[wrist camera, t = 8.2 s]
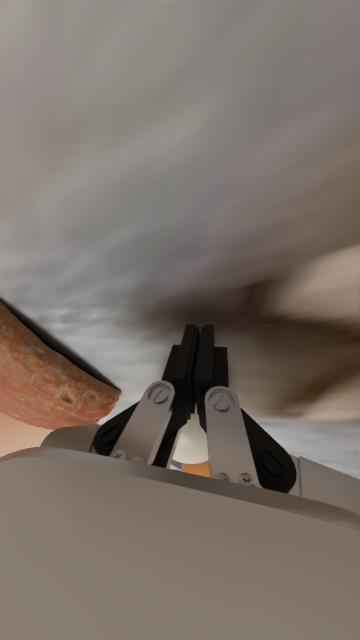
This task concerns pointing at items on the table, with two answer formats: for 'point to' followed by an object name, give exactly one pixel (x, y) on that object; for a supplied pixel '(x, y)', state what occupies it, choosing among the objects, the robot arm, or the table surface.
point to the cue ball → (192, 443)
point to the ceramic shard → (46, 382)
